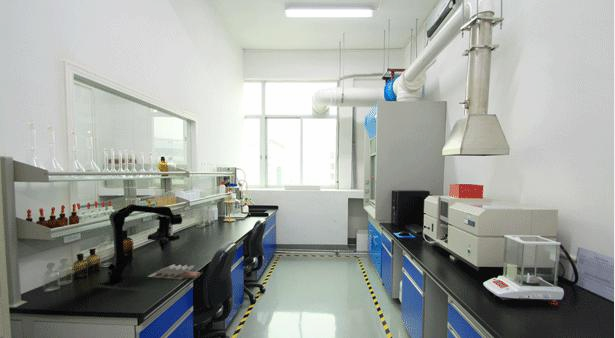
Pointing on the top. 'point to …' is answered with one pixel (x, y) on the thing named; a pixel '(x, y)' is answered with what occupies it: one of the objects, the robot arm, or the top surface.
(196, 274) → the domino
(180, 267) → the domino
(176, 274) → the domino
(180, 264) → the domino
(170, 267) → the domino
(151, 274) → the beige flat rectangular board
